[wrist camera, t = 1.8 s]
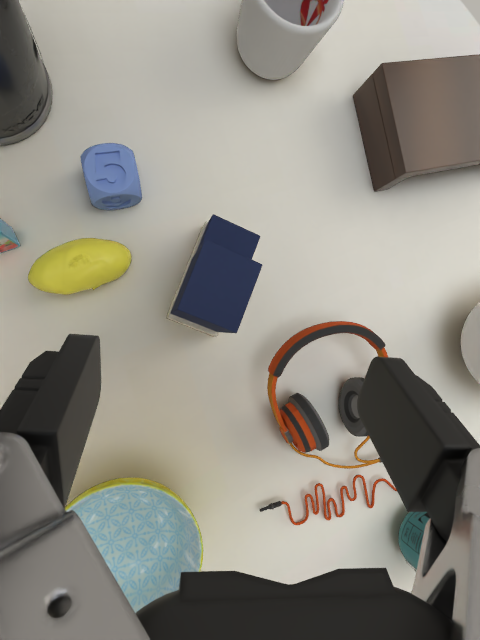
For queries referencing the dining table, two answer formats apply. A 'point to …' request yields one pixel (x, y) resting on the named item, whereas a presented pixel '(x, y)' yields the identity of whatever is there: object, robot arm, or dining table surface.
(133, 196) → the decorative dice
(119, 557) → the bowl
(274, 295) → the dining table surface
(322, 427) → the headphones
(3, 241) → the blue rectangular panel
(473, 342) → the decorative ball
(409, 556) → the beverage bottle
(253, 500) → the dining table surface
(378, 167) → the brown platform
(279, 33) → the cup
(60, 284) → the lemon
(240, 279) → the navy blue block
